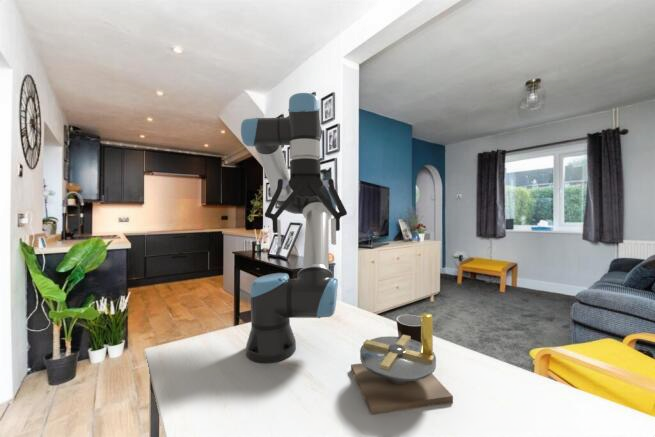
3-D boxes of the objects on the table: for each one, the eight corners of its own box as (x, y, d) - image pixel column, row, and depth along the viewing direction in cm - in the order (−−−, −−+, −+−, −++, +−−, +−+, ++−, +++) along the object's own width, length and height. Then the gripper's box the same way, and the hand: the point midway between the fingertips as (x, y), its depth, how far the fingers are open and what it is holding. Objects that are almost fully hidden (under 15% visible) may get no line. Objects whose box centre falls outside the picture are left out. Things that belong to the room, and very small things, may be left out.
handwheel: (425, 390, 58) (425, 335, 58) (347, 366, 68) (346, 318, 67) (442, 352, 73) (442, 307, 73) (376, 336, 83) (376, 297, 82)
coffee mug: (428, 361, 81) (428, 327, 80) (397, 359, 83) (396, 325, 82) (423, 342, 92) (423, 312, 92) (395, 340, 94) (395, 310, 94)
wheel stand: (351, 369, 77) (350, 348, 77) (416, 362, 81) (416, 341, 80) (371, 414, 61) (371, 386, 60) (452, 402, 64) (452, 376, 64)
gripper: (350, 162, 77) (351, 241, 77) (254, 161, 72) (256, 245, 73) (358, 157, 69) (359, 244, 70) (252, 156, 65) (254, 249, 66)
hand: (307, 245), depth 72 cm, fingers open, 13 cm apart
